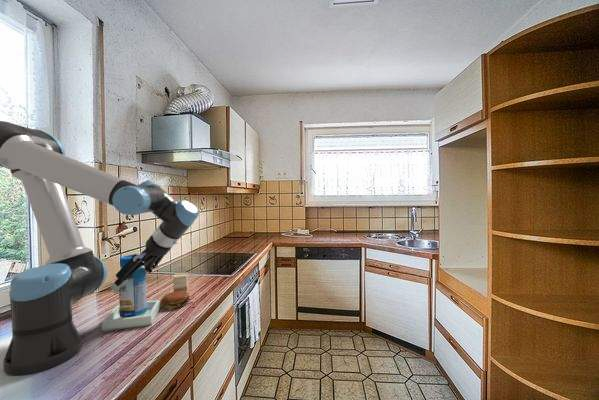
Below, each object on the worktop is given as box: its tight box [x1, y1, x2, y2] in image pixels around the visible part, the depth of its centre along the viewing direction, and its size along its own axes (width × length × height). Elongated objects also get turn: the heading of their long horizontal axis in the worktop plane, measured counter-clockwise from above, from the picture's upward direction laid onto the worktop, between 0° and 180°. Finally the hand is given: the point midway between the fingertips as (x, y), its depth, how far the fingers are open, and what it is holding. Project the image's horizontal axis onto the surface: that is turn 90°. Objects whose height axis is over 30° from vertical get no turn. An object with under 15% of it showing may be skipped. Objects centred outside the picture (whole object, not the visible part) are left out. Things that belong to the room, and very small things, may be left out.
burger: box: [160, 290, 190, 310], centre depth 106 cm, size 10×9×5 cm
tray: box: [101, 299, 161, 333], centre depth 95 cm, size 14×14×3 cm
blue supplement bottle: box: [118, 253, 148, 318], centre depth 95 cm, size 8×8×20 cm
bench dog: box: [172, 271, 189, 294], centre depth 115 cm, size 5×5×9 cm
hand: (124, 285), depth 95 cm, fingers closed on blue supplement bottle, 8 cm apart
